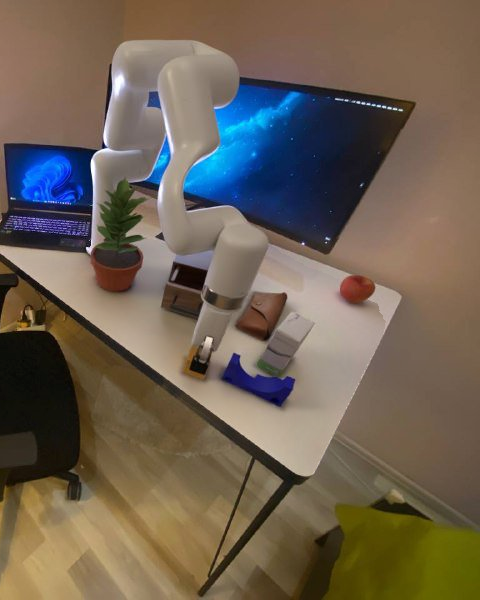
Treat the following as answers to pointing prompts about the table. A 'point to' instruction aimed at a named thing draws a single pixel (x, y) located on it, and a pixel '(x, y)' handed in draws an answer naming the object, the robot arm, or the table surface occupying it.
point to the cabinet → (193, 262)
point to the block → (188, 363)
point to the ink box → (285, 343)
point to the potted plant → (118, 241)
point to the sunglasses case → (262, 314)
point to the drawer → (184, 292)
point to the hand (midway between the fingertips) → (201, 354)
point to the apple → (356, 288)
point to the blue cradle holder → (258, 382)
